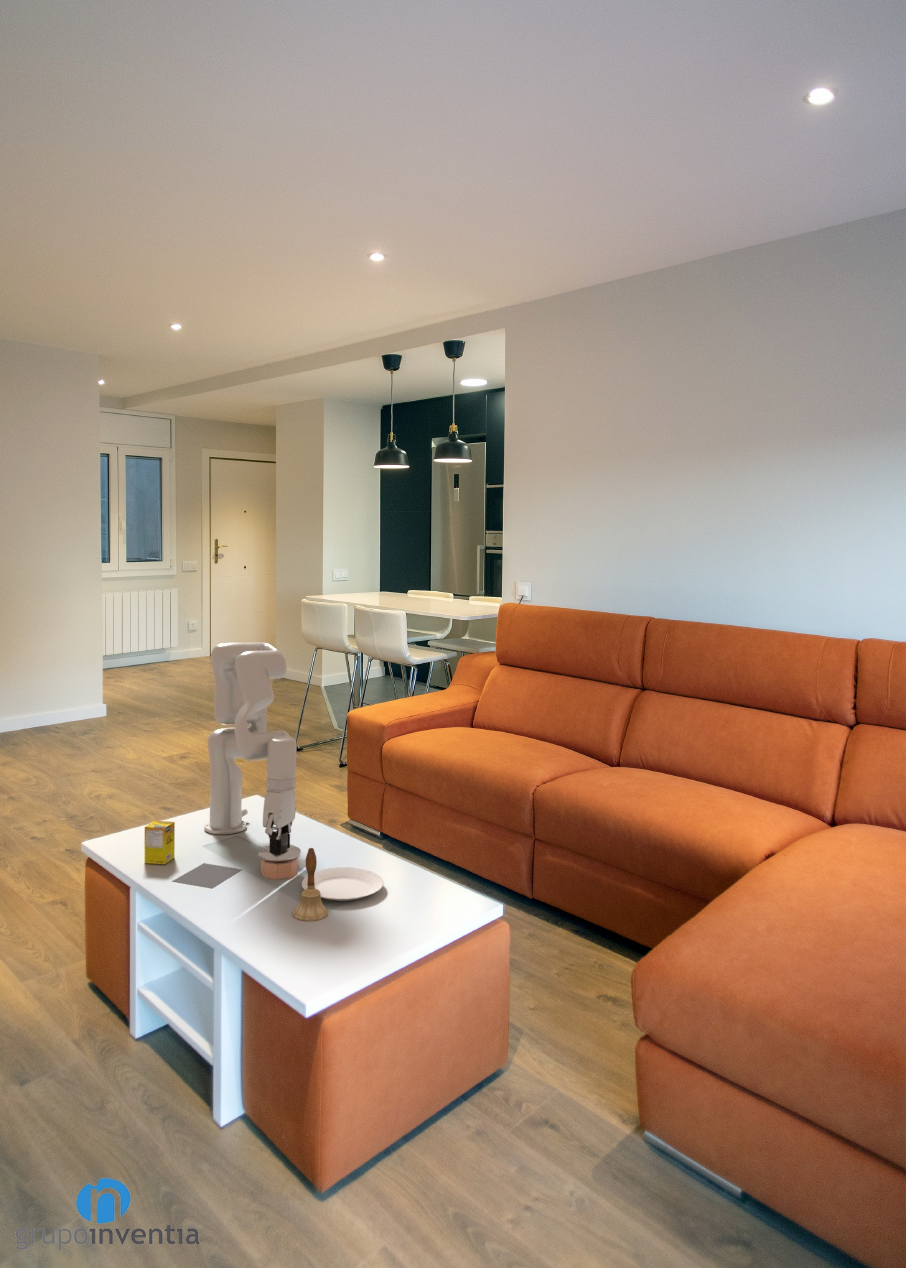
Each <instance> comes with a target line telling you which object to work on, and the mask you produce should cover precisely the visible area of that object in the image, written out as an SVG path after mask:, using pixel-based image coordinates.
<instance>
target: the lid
mask: <svg viewBox="0 0 906 1268" xmlns="http://www.w3.org/2000/svg"><path fill="white" fill-rule="evenodd" d="M274 831H275V832H276V833H277V830H274ZM280 839H281V854H274V853H270V852H269V849H270V845H267V846H264V847H262V848H260V849H259V850H258V858H259V859H260V860H261V859H263V860H266V861H273V862H281V861H289V860H293V859H295V858H297V857H298V858H299V857H300V856H301V849H300V848H299V846H296V845H293V844H290V848H288V849H287V844H288V832H286V831H281V834H280Z"/></svg>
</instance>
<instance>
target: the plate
mask: <svg viewBox="0 0 906 1268" xmlns="http://www.w3.org/2000/svg"><path fill="white" fill-rule="evenodd" d="M307 883H308V875H306V876H305V877H304V878H303V879H302V882H301V887H302V889H303V891H304V890H305V889H307V887H308V885H307ZM314 883H315V889H318V890H319V891H320V894H321V899H324V900H328V901H337V902H346V901H349V902H350V901H354V900H359V899H362V898H366V897H367V896H370V895H373V894H375V893H377V892H379V891H380V890H381V889H382V888H383V886H384V884H385V883H384V879H383V877H381V876H380V875H379V874H378V873H376V872H374V871H371V870H368V869H364V868H359V867H344V866H343V867H331V868H330V867H329V868H325V869H320V870H317V871H315V873H314Z"/></svg>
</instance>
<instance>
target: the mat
mask: <svg viewBox="0 0 906 1268" xmlns="http://www.w3.org/2000/svg"><path fill="white" fill-rule="evenodd" d="M242 870H243V869H242V868H236V867H229V866H224V865H217V864H211V863H206V862H203V863H202V864H200V865H198V866H197V867H195V868H193V869H191V870H190V871H187V872H185V873H183V874H182V875H180V876H178V877H177V878H175V879H174V880H173V879H172V881H171V882H174V883H177V884H185V885H190V886H195V887H201V888H207V889H214V888H216V887H217V886H219V885H221V884H222V883H224V882H225V881H227V880H228V879H230V878H231V877H233V876H235V875H236V874H238V873H239V872H242Z"/></svg>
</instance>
